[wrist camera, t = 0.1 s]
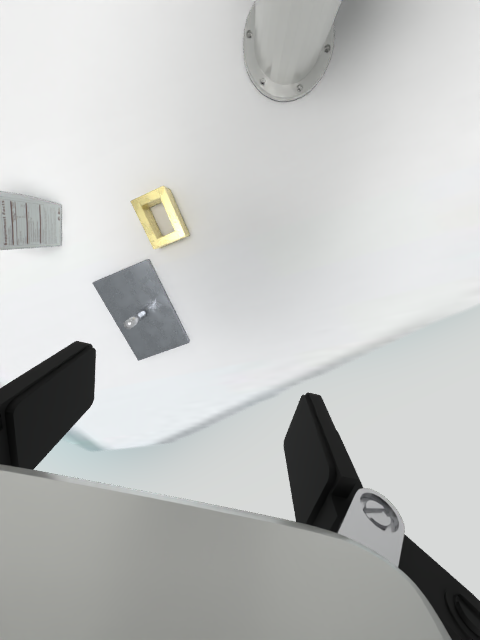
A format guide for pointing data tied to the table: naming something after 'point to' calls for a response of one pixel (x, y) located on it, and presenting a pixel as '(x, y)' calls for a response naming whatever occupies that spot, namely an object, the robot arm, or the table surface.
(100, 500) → the robot arm
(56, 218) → the supplement box
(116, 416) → the table surface
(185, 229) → the hollow rectangular wooden block
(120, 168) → the table surface
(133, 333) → the keeper plate
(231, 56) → the table surface
